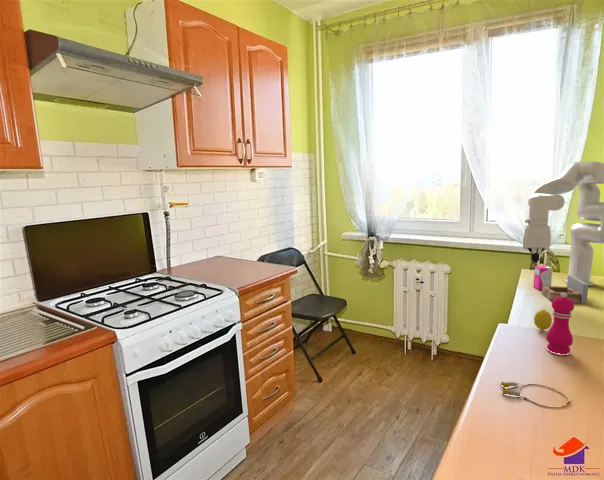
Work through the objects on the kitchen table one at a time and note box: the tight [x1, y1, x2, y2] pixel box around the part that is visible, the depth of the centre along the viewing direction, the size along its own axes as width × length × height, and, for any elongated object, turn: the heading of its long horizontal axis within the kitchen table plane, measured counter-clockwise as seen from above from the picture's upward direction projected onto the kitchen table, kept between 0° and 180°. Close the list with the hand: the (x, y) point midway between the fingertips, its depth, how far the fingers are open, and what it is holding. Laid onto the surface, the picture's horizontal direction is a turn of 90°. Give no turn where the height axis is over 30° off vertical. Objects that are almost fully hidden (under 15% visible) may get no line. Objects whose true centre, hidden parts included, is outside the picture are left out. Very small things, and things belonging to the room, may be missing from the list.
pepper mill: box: [546, 292, 575, 354], centre depth 125 cm, size 7×7×20 cm
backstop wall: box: [566, 275, 590, 305], centre depth 178 cm, size 16×2×9 cm, turn 166°
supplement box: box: [532, 265, 553, 292], centre depth 193 cm, size 6×6×12 cm
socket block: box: [541, 285, 581, 304], centre depth 179 cm, size 12×12×4 cm
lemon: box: [533, 309, 553, 331], centre depth 143 cm, size 6×6×8 cm
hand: (534, 261), depth 179 cm, fingers closed
